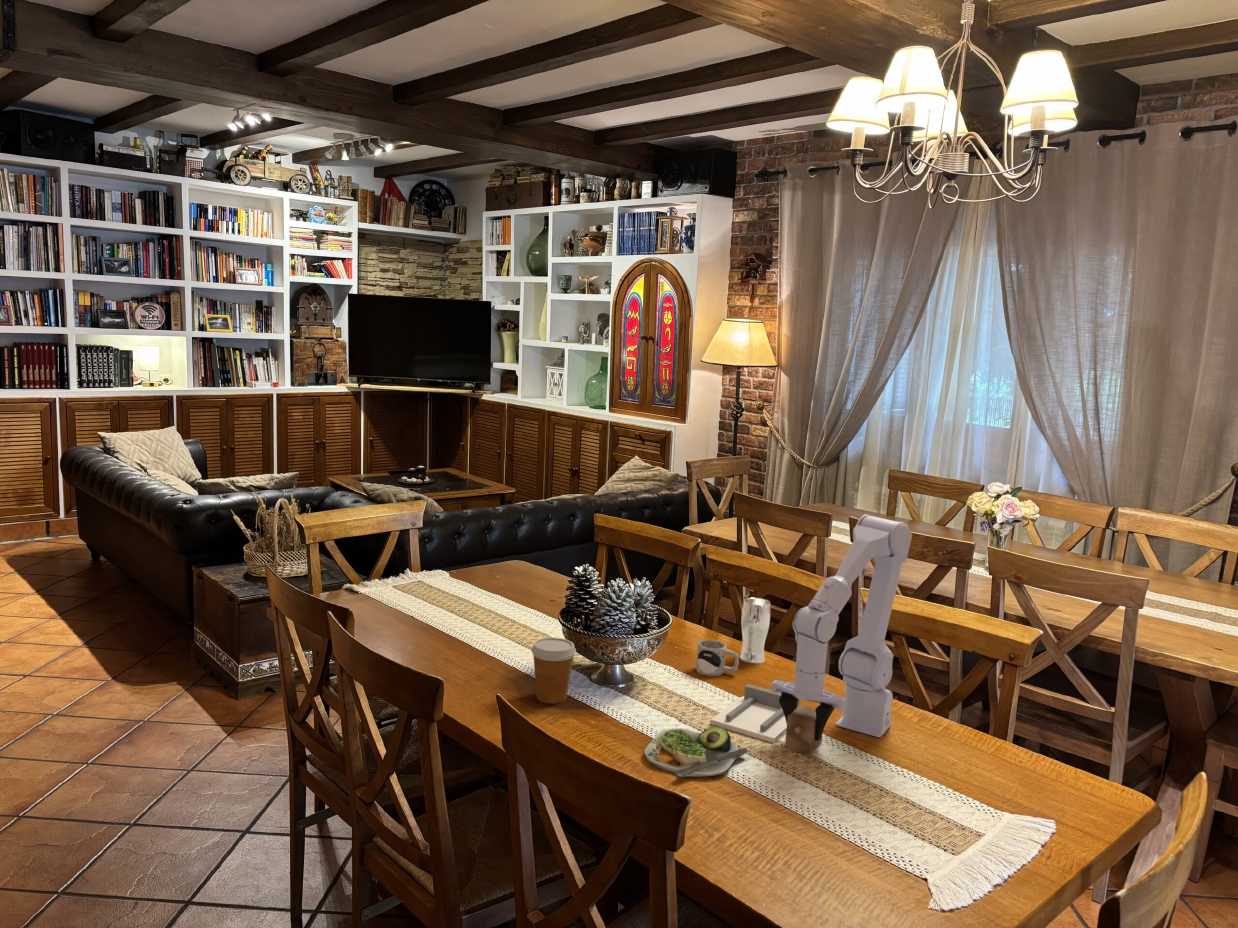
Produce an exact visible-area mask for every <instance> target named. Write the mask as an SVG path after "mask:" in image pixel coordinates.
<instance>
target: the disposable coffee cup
mask: <svg viewBox="0 0 1238 928" xmlns="http://www.w3.org/2000/svg"><path fill="white" fill-rule="evenodd" d="M531 653H532V656H533V667H534V680H535V690H536V691H535V692H536V699H537V701H539V702H542V703H544V704H550V705H551V704H560V703H563V702H564V701H566V699H567V694H568V688H569V683H570V679H571V673H572V667H573V661H574V657H575V654H576V653H577V649H576V648H575V644H574V642H573V641H571V640H568V639H565V638H561V637H559V638H558V637H544V638H543V637H542V638H540V639H537V640H535V641H534V643H533V645H532V647H531Z"/></svg>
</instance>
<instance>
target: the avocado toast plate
mask: <svg viewBox="0 0 1238 928" xmlns="http://www.w3.org/2000/svg"><path fill="white" fill-rule="evenodd" d="M727 730H728V729H725V728H721V727H718V726H709V727H707V728H704V731H702V732H697V731H695V730H694V731H693V730H690V729H686V728H669V729H664V730H662V731H660V732H658V733H657V734H656V735H655V737H654V738H653V739H652V740H651V741H650V743H648V744H647V746H646V747H645V748H644V750H643V751H644V752H643V753H644V757H645V758H646V759H647V761H648V762H649V763H651V764H652V765H654V767H657V768H658V769H660V770H662V771H664V772H665V771H666V772H669V773H671V774H674V775H675V776H676V777H678V778H679V777H680V778H685V777H687V778H689V777H691V778H692V777H694V778H697V777H701V778H702V777H712V776H720V775H723V774H724V773H726V772H727V771H728V770H729V769H730V768H731V766H732V765H733V763H734V761H735V760H737V759H738V758H740V757H742V756H744V755H745V754H747V753H749V750H748V748H745V747H742V748H739V746H738V745H737V744H736V743H735V742H733V741H731V736H730V733H729V732H728V731H727ZM662 749H663V750H664V751H665V752H667V753H669V754H671V755H673V757H674V759H675V761H674V763H667V762H664V761H662V760H661V758H660V752H661V750H662Z"/></svg>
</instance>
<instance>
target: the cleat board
mask: <svg viewBox="0 0 1238 928" xmlns="http://www.w3.org/2000/svg"><path fill="white" fill-rule="evenodd" d="M780 697H781V693H779V692H777V693H774V692H771V689H767V688H765V687H760V686H756V685H752V684H749V683H747V684H746V685H745V686H744V695H743V696H741V697H739V698H738V699H737V700H735V701H733V703H731V704H730V705H729V706H727V707H725V708H724V709H723V710H722V711H720V712H719V713H717V714H716V715H714V716H713V717H712V718H711V719H710V720H709V721H710V722H709V723H710V724H709V725H713V726H714V727H721V728H724V729H725V730H728V731H732V732H736V733H738V734H743V735H745V736H749V737H751V738H755V739H758V740H763V741H765V742H769V743H771V744H775V743H776V742H777V741H778V740H779V739H780V738H782V737H783V736H784V735H786V729H787V724H786V719H785V715H784V712H783V709H782V707H781V705H780V703H779V698H780ZM800 701H801V700H800V699H798V704H797V708H798V707H799V706H800V705H801V704H800V703H801V702H800Z"/></svg>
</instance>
